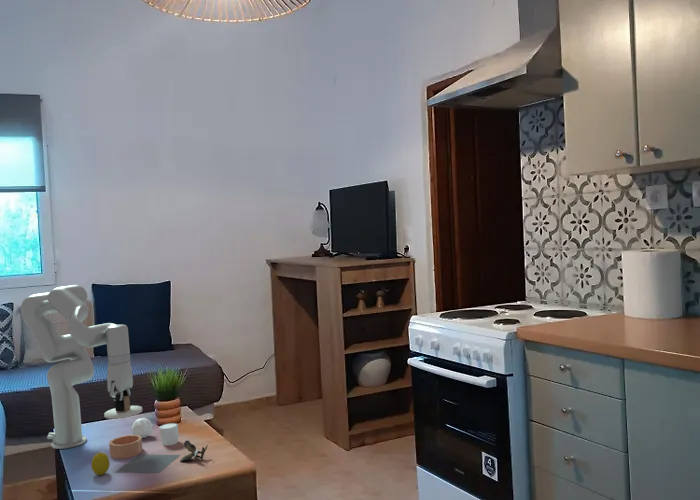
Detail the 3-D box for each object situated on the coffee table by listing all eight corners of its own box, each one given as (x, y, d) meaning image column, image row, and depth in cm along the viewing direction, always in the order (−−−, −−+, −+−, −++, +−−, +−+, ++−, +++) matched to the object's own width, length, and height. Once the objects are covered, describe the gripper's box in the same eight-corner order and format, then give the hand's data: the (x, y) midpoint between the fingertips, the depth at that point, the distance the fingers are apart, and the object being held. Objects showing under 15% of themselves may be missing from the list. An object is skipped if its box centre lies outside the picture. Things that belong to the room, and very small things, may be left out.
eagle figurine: (209, 452, 225) (185, 447, 226) (206, 439, 220) (182, 434, 222) (200, 470, 219) (176, 465, 220) (198, 458, 214) (173, 453, 216)
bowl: (104, 459, 227) (103, 445, 227) (120, 448, 238) (119, 434, 238) (132, 459, 225) (131, 445, 225) (148, 448, 236) (147, 435, 236)
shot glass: (182, 440, 242) (180, 422, 242) (175, 447, 235) (174, 428, 235) (164, 441, 243) (163, 423, 242) (157, 447, 236) (156, 429, 236)
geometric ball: (139, 443, 250) (137, 424, 254) (157, 435, 249) (154, 416, 253) (128, 440, 244) (125, 420, 248) (146, 432, 243) (143, 412, 247)
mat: (114, 473, 213) (114, 472, 213) (139, 455, 228) (138, 454, 228) (159, 474, 210) (158, 472, 210) (180, 456, 225) (180, 454, 225)
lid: (97, 418, 226) (95, 402, 225) (116, 407, 238) (115, 392, 238) (130, 418, 223) (129, 402, 223) (148, 407, 236) (147, 392, 236)
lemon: (95, 473, 214) (93, 450, 214) (112, 471, 215) (110, 448, 214) (90, 480, 209) (88, 456, 208) (107, 478, 209) (105, 454, 209)
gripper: (122, 354, 239) (125, 402, 240) (96, 364, 222) (100, 416, 223) (140, 353, 237) (144, 402, 238) (116, 364, 221) (120, 416, 222)
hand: (123, 408), depth 231 cm, fingers closed on lid, 3 cm apart
